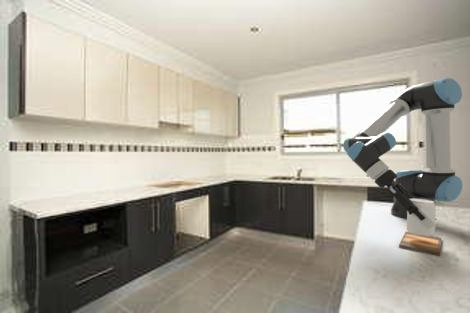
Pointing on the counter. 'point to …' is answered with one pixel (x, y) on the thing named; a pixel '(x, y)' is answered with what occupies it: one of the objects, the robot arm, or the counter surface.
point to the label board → (421, 243)
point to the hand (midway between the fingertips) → (432, 224)
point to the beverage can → (415, 225)
